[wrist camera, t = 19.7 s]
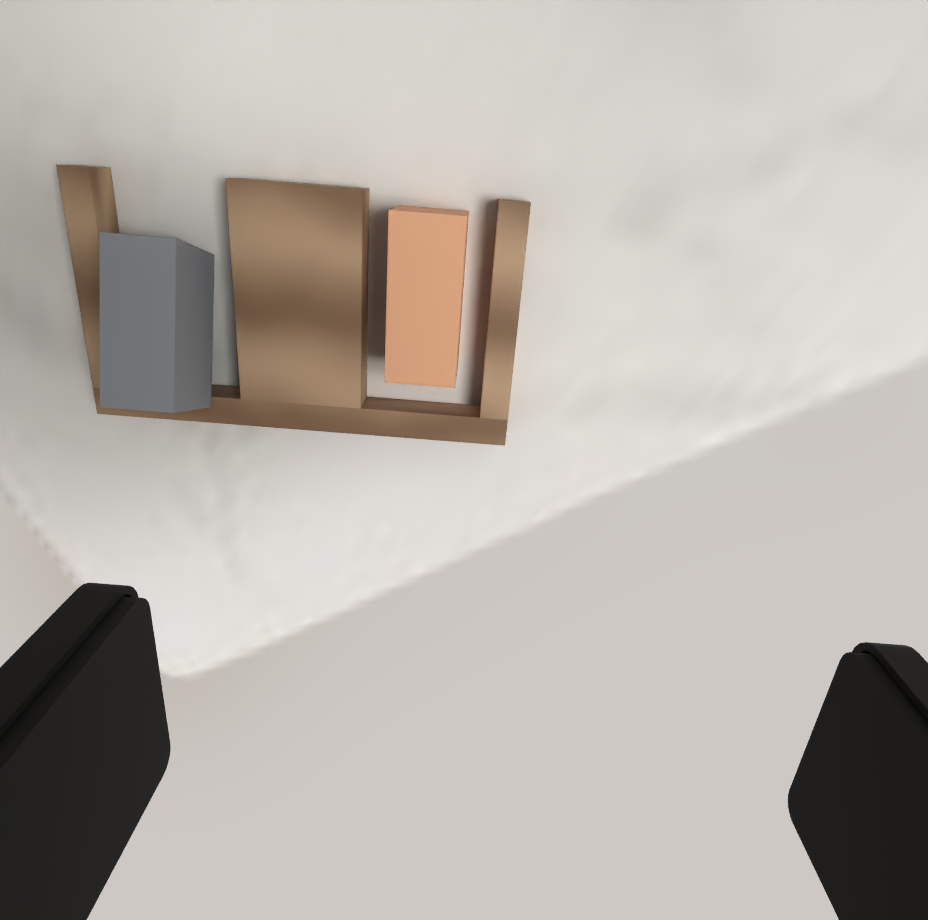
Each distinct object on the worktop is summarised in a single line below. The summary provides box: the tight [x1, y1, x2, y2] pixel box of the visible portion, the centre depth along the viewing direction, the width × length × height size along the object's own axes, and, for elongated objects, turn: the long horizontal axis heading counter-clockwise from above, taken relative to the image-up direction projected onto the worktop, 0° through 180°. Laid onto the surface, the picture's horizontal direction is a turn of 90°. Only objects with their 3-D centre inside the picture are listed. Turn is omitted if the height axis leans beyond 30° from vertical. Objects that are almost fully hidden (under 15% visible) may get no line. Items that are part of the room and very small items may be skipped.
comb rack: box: [56, 165, 531, 445], centre depth 34 cm, size 12×22×2 cm, turn 86°
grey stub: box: [100, 232, 214, 413], centre depth 32 cm, size 8×4×4 cm, turn 176°
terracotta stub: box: [385, 206, 469, 388], centre depth 33 cm, size 8×4×4 cm, turn 176°
